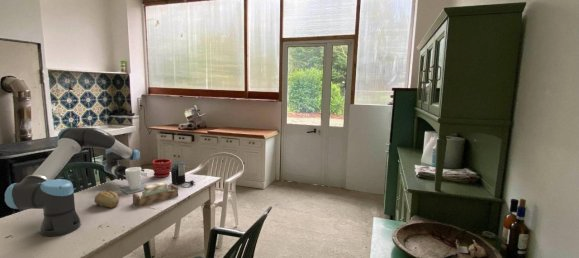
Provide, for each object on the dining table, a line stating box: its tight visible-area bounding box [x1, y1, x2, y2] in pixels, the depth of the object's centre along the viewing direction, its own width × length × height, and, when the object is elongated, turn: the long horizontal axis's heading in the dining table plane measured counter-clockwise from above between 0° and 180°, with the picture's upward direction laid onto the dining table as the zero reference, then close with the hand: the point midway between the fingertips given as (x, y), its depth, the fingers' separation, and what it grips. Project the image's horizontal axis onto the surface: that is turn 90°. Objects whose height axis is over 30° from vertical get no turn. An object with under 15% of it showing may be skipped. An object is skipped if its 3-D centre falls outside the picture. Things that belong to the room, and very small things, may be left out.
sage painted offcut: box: [141, 186, 170, 197], centre depth 175 cm, size 14×4×2 cm, turn 138°
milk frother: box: [170, 160, 196, 186], centre depth 204 cm, size 14×16×15 cm
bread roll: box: [93, 190, 120, 209], centre depth 165 cm, size 10×15×8 cm, turn 71°
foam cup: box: [125, 166, 142, 190], centre depth 192 cm, size 10×9×13 cm
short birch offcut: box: [144, 181, 168, 193], centre depth 175 cm, size 12×4×2 cm, turn 138°
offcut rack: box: [131, 183, 179, 208], centre depth 175 cm, size 24×8×6 cm, turn 138°
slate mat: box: [118, 182, 148, 195], centre depth 193 cm, size 15×15×1 cm
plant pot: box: [152, 158, 172, 178], centre depth 220 cm, size 13×13×12 cm
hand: (138, 176), depth 189 cm, fingers open, 11 cm apart
